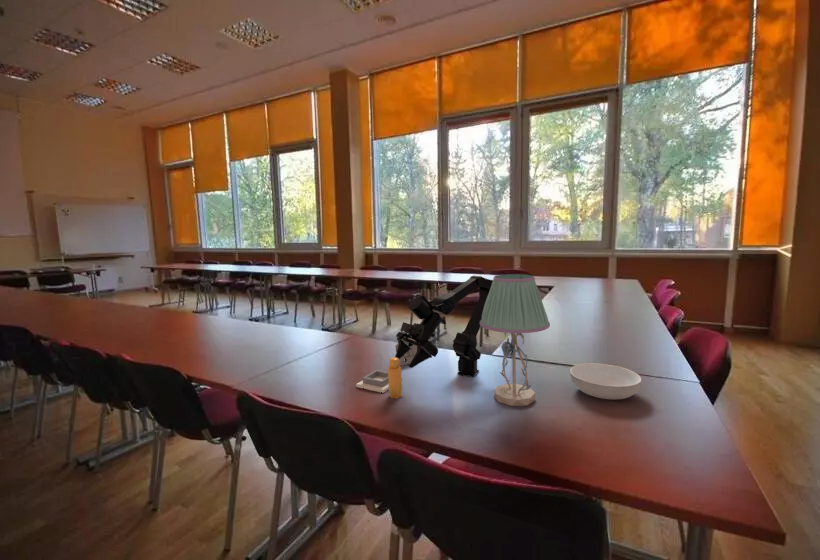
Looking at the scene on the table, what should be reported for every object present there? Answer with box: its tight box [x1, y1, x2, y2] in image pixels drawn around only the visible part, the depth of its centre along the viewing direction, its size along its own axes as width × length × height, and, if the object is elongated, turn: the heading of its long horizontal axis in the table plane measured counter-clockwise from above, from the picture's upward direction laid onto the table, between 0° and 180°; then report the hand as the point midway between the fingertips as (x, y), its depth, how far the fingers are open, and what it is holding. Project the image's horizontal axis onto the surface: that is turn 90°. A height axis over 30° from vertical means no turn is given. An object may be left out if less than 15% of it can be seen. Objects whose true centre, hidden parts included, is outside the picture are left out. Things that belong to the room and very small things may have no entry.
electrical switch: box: [395, 342, 417, 367], centre depth 165 cm, size 9×5×9 cm, turn 116°
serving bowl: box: [569, 362, 643, 400], centre depth 128 cm, size 21×21×7 cm
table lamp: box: [480, 273, 551, 407], centre depth 125 cm, size 22×22×40 cm
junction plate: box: [356, 369, 403, 394], centre depth 143 cm, size 12×12×3 cm
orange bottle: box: [387, 356, 403, 399], centre depth 132 cm, size 4×4×13 cm
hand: (402, 363), depth 133 cm, fingers open, 9 cm apart
